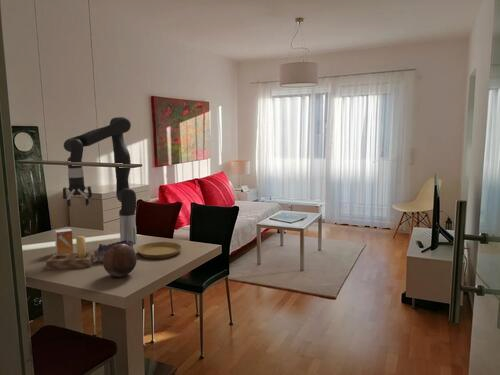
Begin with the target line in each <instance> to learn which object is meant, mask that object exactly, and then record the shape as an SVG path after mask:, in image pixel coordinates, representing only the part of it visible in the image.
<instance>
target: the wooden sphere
mask: <svg viewBox="0 0 500 375" xmlns="http://www.w3.org/2000/svg"><path fill="white" fill-rule="evenodd" d="M133 249H134V248H133ZM133 249H132V248H131V247H130V246H128V245H125V244H116V245H113V246H111V247H110V248H109V249H107V251H106V252H105V254H104V256H103V262H102V266H103V268H104V270H105V271H106V272H107V274H109V275H111V276H112V277H117V278H118V277H119V278H120V277H124V276H127V275H129V274H130V273H132V271H133V270H134V269H135V267H136V265H137V260H138V259H137V254H136V253H137V252H136V251H135V249H134V250H133Z"/></svg>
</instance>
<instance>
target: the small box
mask: <svg viewBox="0 0 500 375" xmlns="http://www.w3.org/2000/svg"><path fill="white" fill-rule="evenodd" d="M54 239H55V240H54V241H55V254H69V253H74V242H73V230H72V229H71V228H61V229H55V230H54Z"/></svg>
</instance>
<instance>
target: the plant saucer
mask: <svg viewBox="0 0 500 375" xmlns="http://www.w3.org/2000/svg"><path fill="white" fill-rule="evenodd" d="M181 250H182V245H180V244H179V243H176V242H172V241H159V242H158V241H157V242H156V241H155V242H149V243H145V244H142V245H140V246H138V247H137V249H136V251H137V253H138V254H139V255H140V256H141V257H144V258H147V259H152V258H155V259H156V260H157V258H159V259H167V258H171V257H173V256H176V255H177V254H178V253H179V252H180V251H181ZM166 257H167V258H166Z"/></svg>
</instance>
